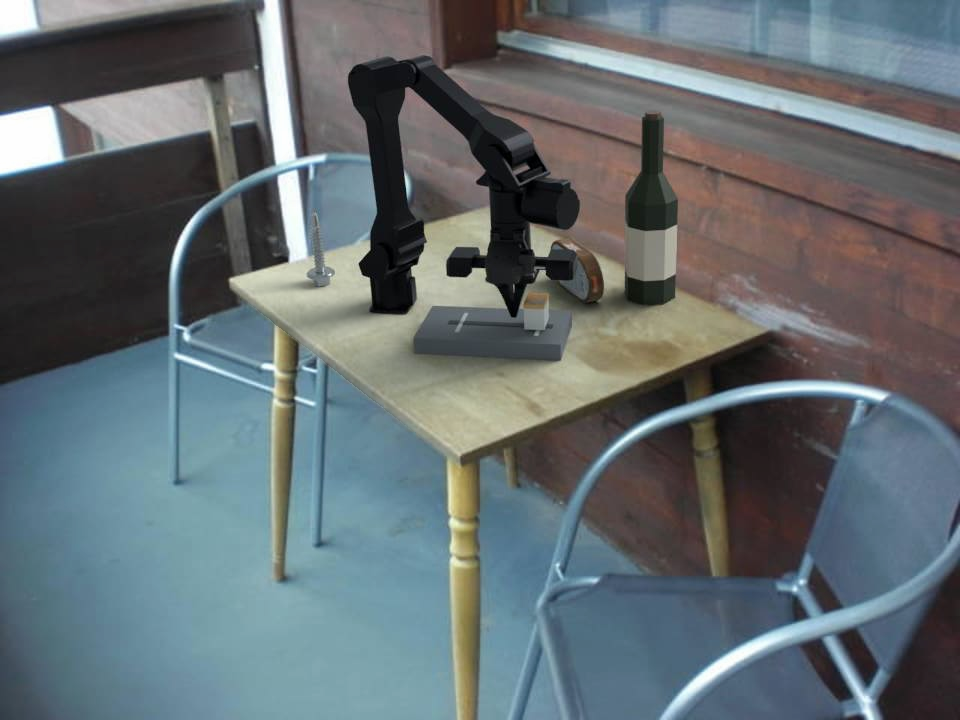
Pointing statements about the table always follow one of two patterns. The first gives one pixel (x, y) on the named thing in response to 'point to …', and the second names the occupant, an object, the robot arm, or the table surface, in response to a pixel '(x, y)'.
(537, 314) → the fader
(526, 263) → the robot arm
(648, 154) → the wine bottle
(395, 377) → the table surface
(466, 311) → the fader board
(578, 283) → the tin
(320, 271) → the screw
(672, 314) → the table surface
